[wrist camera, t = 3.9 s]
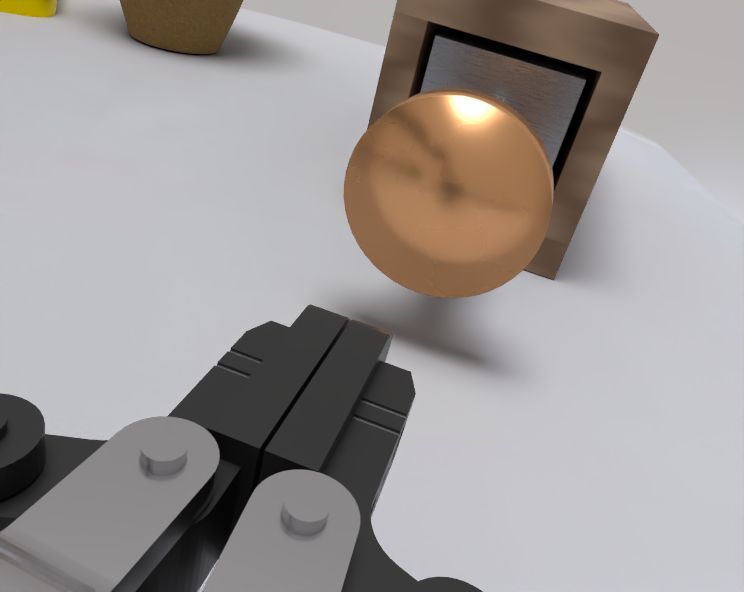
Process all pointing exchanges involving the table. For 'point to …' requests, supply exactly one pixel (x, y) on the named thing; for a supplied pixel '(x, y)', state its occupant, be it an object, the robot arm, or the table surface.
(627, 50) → the box
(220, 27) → the plant pot
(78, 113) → the table surface
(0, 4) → the element tile
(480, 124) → the plunger
